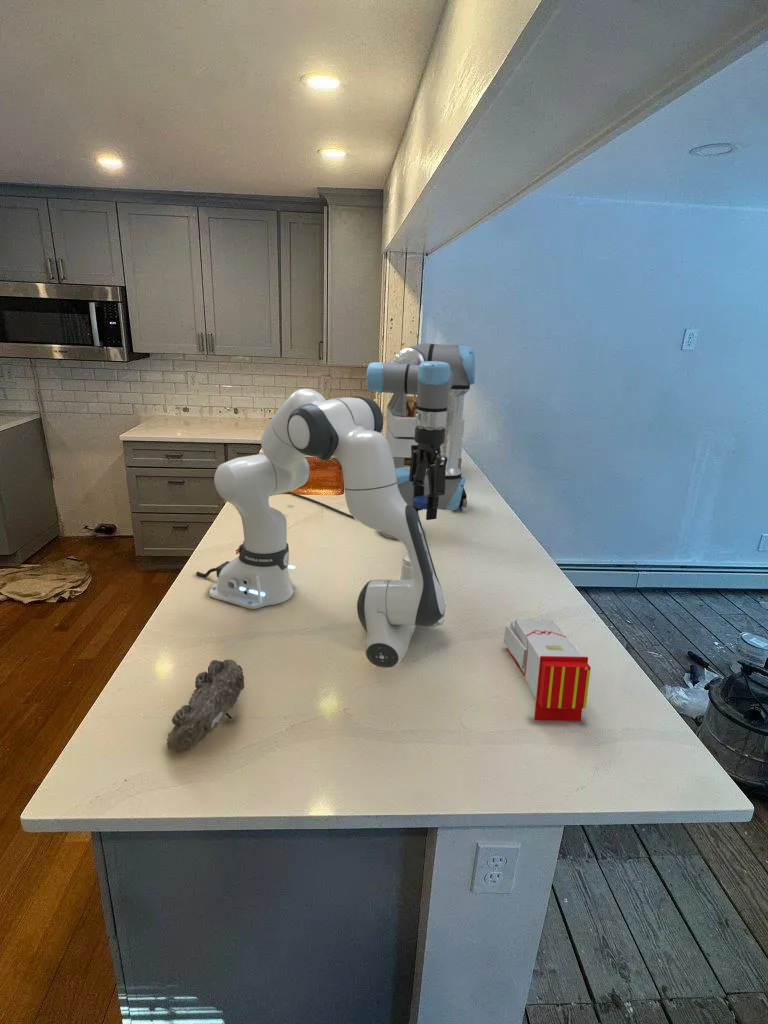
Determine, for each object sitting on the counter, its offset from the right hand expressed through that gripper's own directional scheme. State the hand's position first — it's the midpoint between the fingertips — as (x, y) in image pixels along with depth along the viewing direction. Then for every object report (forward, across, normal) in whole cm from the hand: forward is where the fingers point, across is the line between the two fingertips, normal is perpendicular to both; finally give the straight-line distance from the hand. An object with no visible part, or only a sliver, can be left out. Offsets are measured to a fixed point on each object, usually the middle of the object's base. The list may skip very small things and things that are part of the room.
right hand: (424, 514), depth 147 cm
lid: (-4, 0, 0) cm, 4 cm away
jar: (+25, +7, -8) cm, 27 cm away
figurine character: (+26, -60, +53) cm, 84 cm away
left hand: (+18, +6, -7) cm, 21 cm away
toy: (+24, +42, +5) cm, 49 cm away
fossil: (+24, +25, -61) cm, 70 cm away
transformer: (+27, -108, +65) cm, 129 cm away
